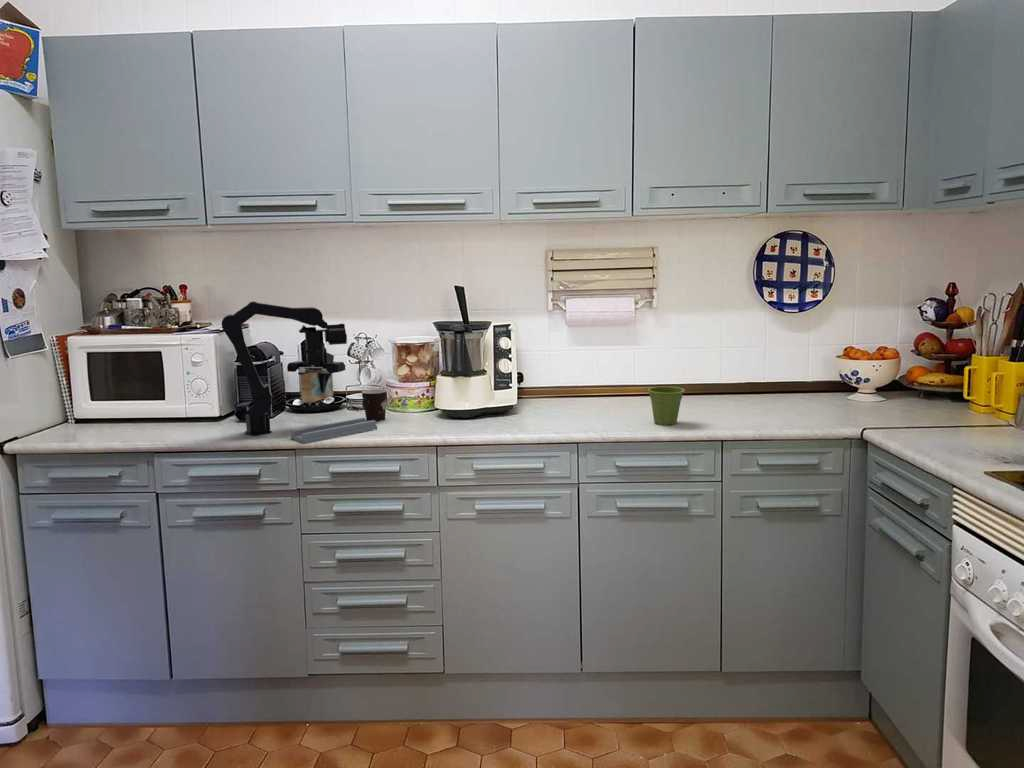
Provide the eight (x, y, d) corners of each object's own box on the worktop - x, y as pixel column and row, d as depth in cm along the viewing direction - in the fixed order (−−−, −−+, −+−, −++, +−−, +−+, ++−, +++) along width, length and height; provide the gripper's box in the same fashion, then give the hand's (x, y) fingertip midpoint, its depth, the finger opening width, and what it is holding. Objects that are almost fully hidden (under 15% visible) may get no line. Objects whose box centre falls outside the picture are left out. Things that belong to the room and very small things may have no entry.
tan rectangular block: (312, 402, 250) (310, 375, 248) (302, 402, 251) (300, 375, 249) (333, 395, 263) (332, 369, 262) (324, 394, 264) (322, 368, 263)
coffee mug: (379, 416, 275) (377, 388, 273) (393, 419, 269) (391, 391, 267) (350, 421, 267) (349, 392, 265) (365, 424, 261) (363, 395, 259)
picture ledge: (305, 443, 236) (304, 434, 235) (291, 439, 242) (290, 430, 242) (377, 429, 253) (376, 420, 253) (362, 425, 260) (361, 417, 259)
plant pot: (650, 427, 247) (650, 392, 245) (645, 419, 259) (645, 386, 257) (687, 427, 246) (688, 392, 245) (680, 419, 258) (681, 386, 256)
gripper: (352, 343, 259) (354, 389, 262) (302, 342, 264) (305, 387, 267) (335, 347, 248) (338, 395, 251) (284, 346, 254) (288, 393, 256)
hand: (317, 392), depth 257 cm, fingers closed on tan rectangular block, 4 cm apart
